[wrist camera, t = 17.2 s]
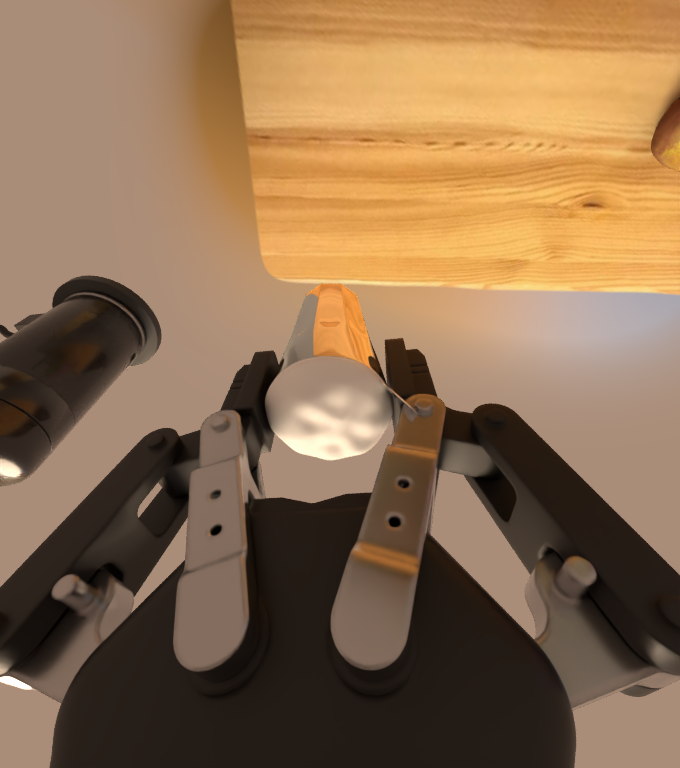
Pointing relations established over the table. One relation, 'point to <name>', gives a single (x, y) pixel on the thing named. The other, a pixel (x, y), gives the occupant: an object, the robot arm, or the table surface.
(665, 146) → the fruit
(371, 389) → the milkshake
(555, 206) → the table surface
